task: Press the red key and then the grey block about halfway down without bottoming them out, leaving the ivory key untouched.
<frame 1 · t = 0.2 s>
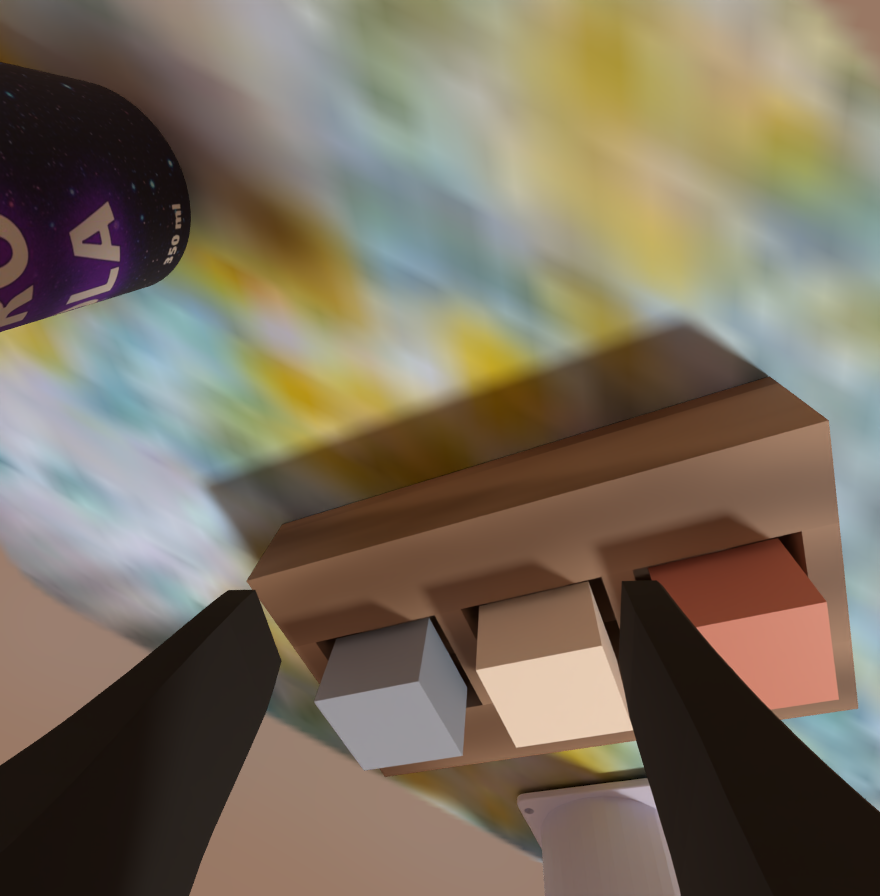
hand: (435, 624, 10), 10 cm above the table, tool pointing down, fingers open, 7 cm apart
beverage can: (123, 192, 17), on the table
ivory key: (552, 664, 18), point 4 cm above the table, slide at 0.0 cm
grey block: (396, 694, 20), point 4 cm above the table, slide at 0.0 cm
red key: (737, 629, 16), point 4 cm above the table, slide at 0.0 cm
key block: (543, 578, 22), on the table
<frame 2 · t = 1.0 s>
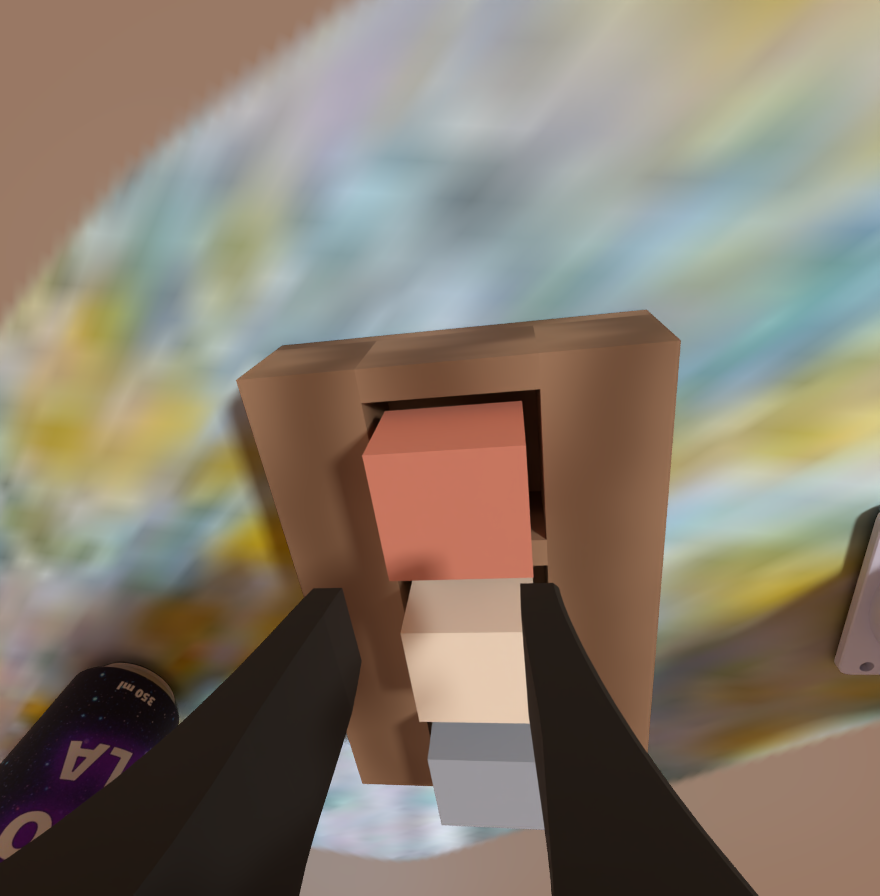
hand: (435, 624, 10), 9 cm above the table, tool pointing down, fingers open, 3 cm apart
beverage can: (138, 686, 28), on the table
ivory key: (475, 644, 17), point 4 cm above the table, slide at 0.0 cm
grey block: (490, 757, 20), point 4 cm above the table, slide at 0.0 cm
red key: (455, 490, 15), point 4 cm above the table, slide at 0.0 cm
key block: (480, 559, 21), on the table
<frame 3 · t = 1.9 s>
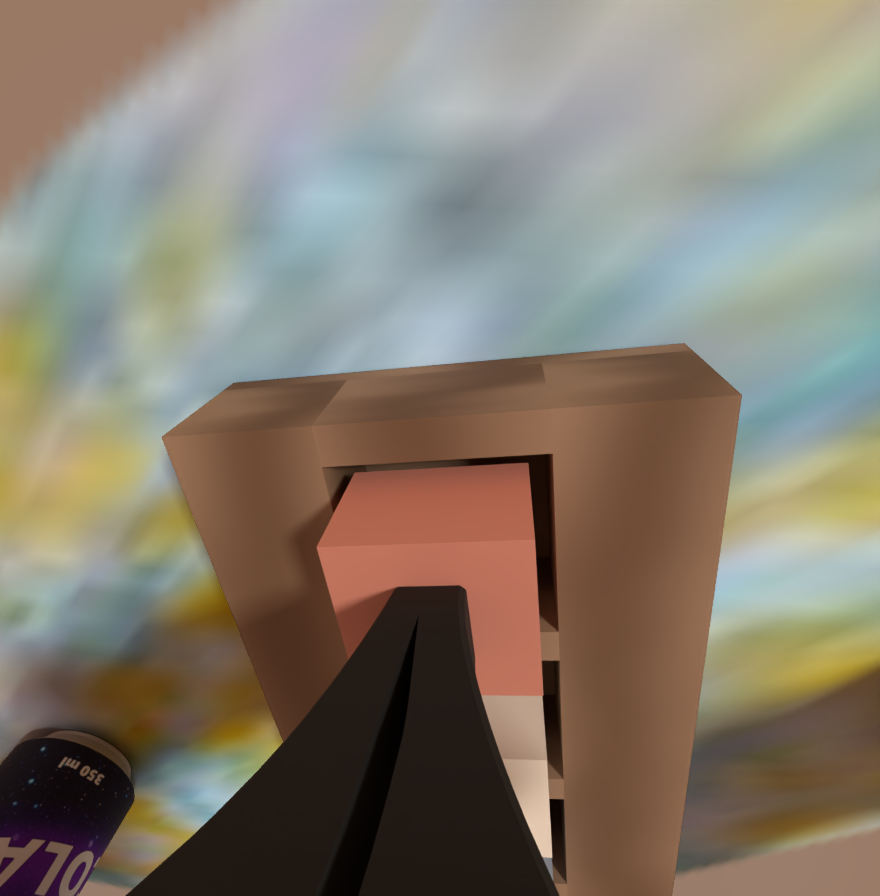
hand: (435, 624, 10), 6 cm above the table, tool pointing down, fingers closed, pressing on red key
beverage can: (90, 754, 25), on the table
ivory key: (470, 753, 14), point 4 cm above the table, slide at 0.0 cm
grey block: (488, 871, 17), point 4 cm above the table, slide at 0.0 cm
red key: (443, 577, 12), point 4 cm above the table, slide at 0.1 cm, touching gripper
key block: (477, 629, 18), on the table
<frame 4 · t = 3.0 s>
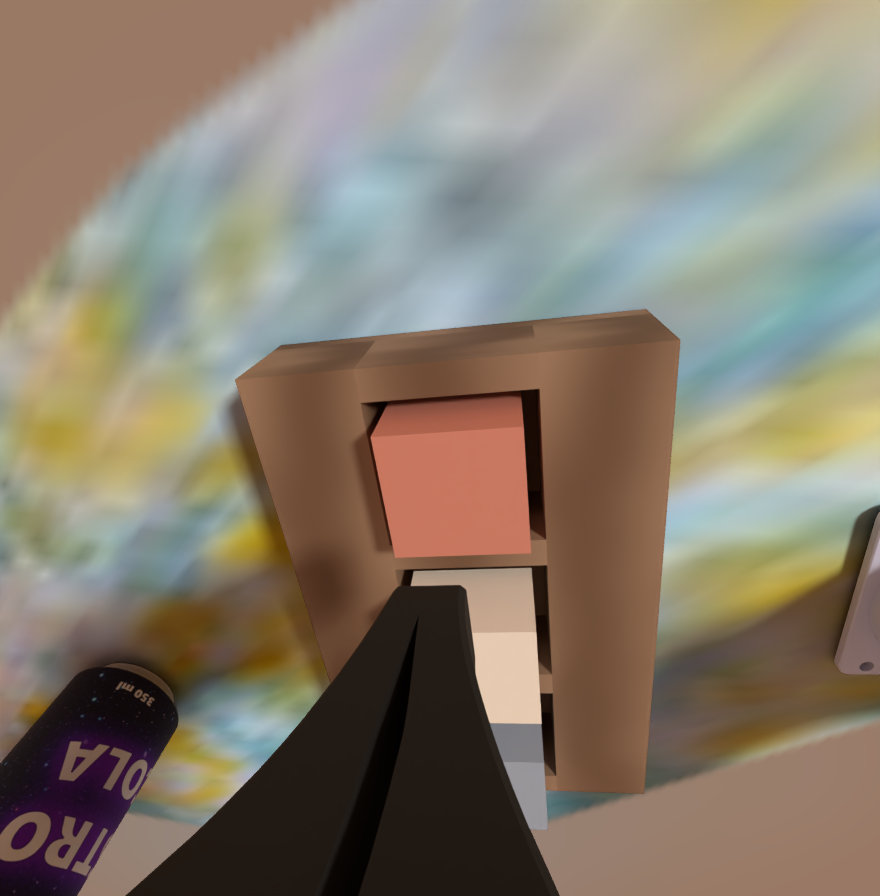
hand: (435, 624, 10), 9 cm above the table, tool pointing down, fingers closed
beverage can: (138, 687, 28), on the table
ivory key: (475, 644, 17), point 4 cm above the table, slide at 0.0 cm
grey block: (490, 757, 20), point 4 cm above the table, slide at 0.0 cm
red key: (457, 472, 16), point 3 cm above the table, slide at 1.0 cm
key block: (480, 559, 21), on the table
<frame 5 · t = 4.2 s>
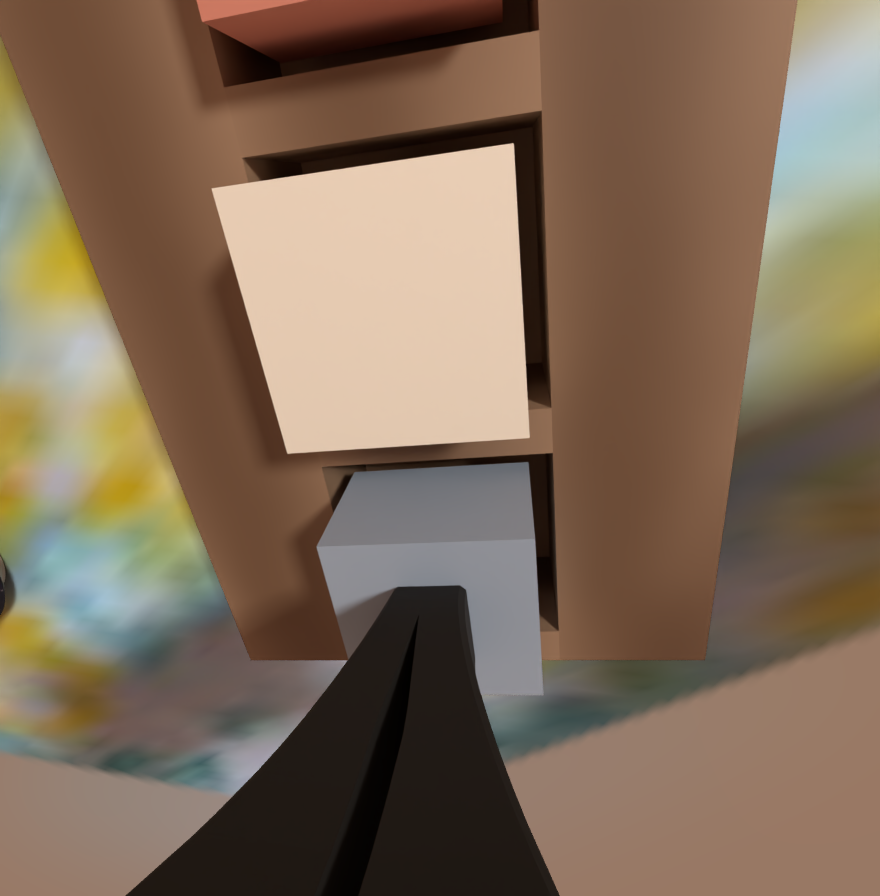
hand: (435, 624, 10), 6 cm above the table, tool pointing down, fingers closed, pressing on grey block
ivory key: (399, 302, 9), point 4 cm above the table, slide at 0.0 cm
grey block: (443, 577, 12), point 4 cm above the table, slide at 0.1 cm, touching gripper
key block: (431, 264, 13), on the table
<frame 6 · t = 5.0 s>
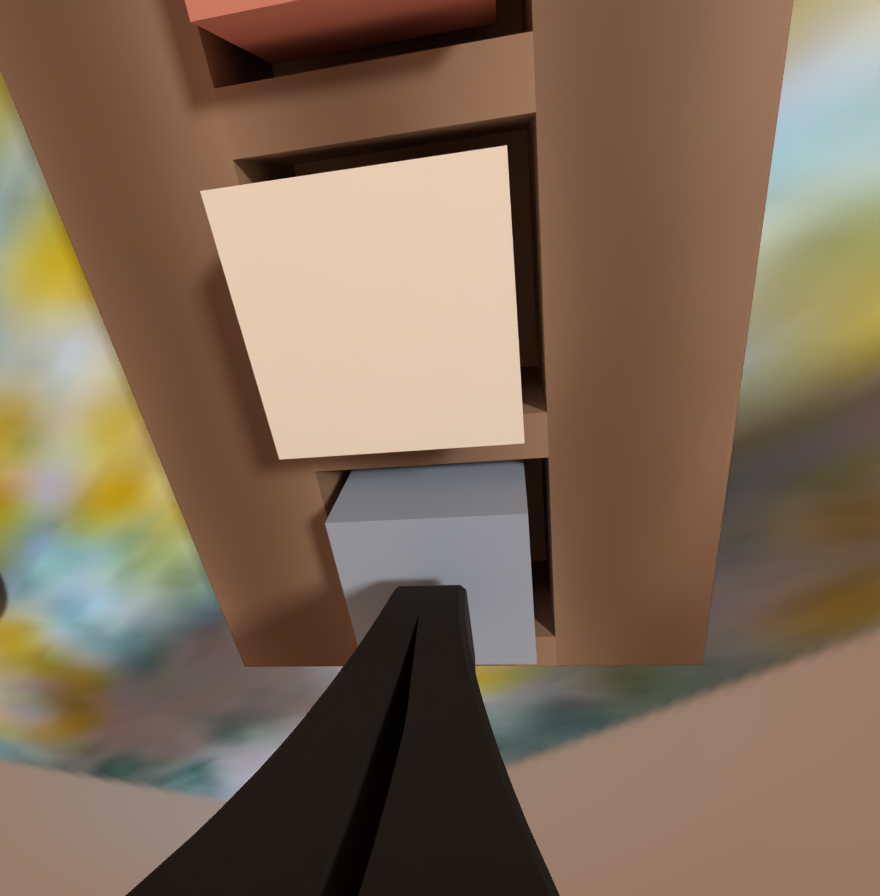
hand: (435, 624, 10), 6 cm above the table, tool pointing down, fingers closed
ivory key: (393, 306, 9), point 4 cm above the table, slide at 0.0 cm
grey block: (443, 555, 12), point 3 cm above the table, slide at 1.0 cm
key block: (426, 267, 13), on the table
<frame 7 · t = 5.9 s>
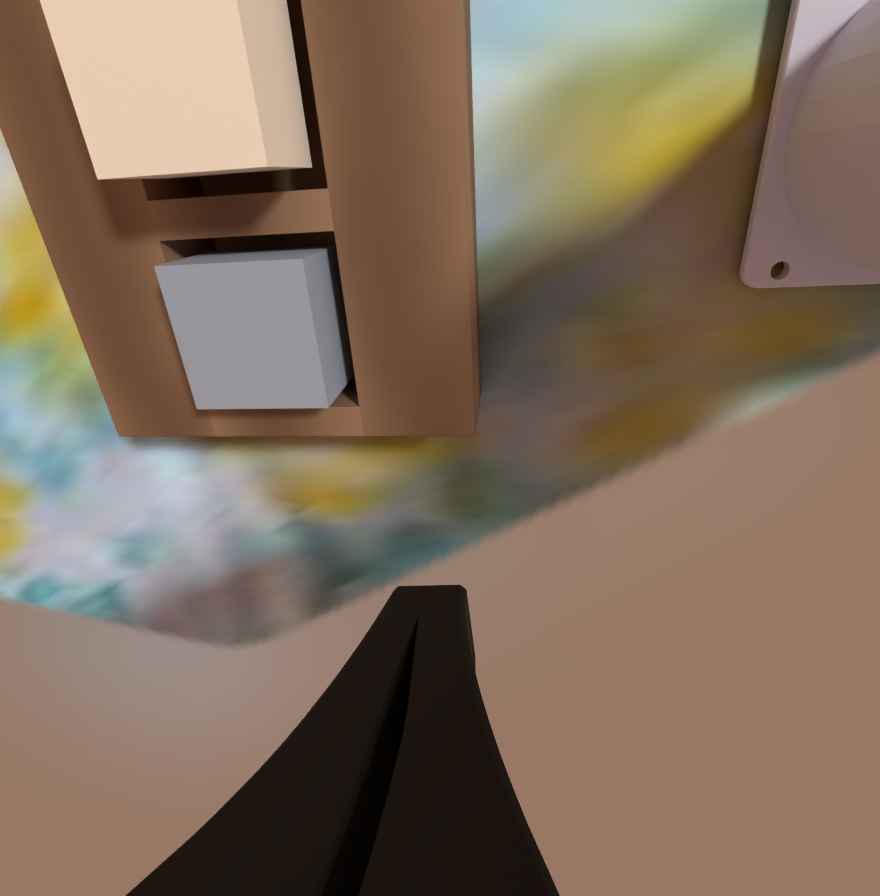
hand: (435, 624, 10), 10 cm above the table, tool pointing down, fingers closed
ivory key: (189, 72, 12), point 4 cm above the table, slide at 0.0 cm
grey block: (266, 326, 15), point 3 cm above the table, slide at 1.0 cm
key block: (269, 97, 16), on the table
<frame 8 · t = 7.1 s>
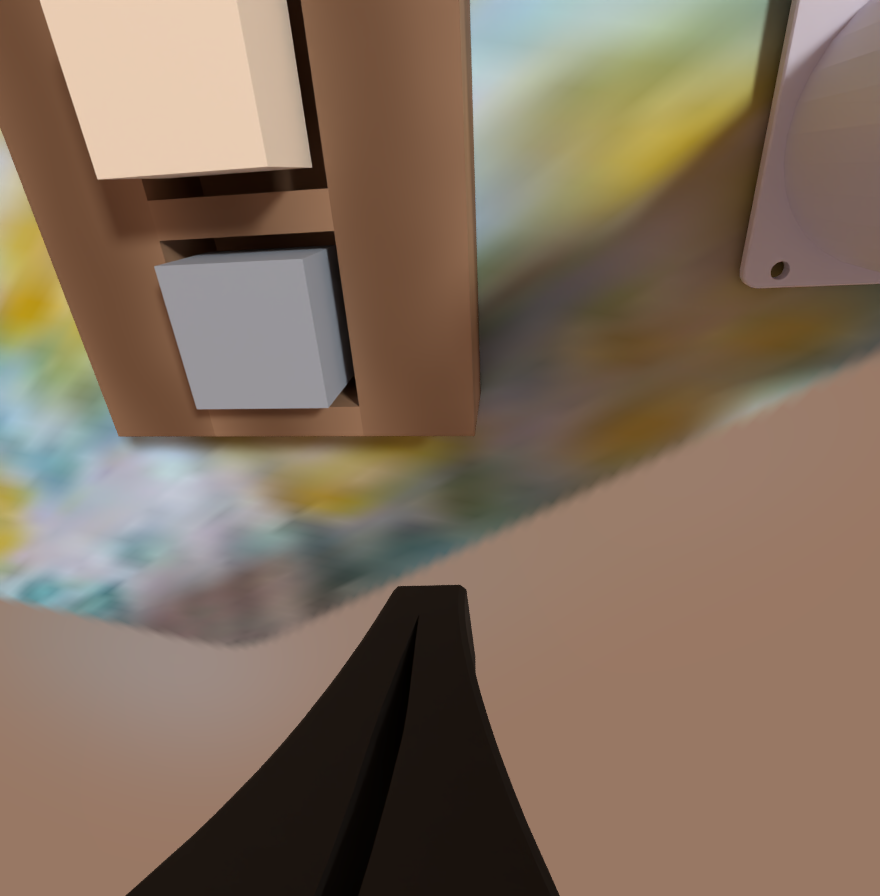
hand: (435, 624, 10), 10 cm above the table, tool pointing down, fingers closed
ivory key: (189, 72, 12), point 4 cm above the table, slide at 0.0 cm
grey block: (266, 326, 15), point 3 cm above the table, slide at 1.0 cm
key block: (269, 97, 16), on the table
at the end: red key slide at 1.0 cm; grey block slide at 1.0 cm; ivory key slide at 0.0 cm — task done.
